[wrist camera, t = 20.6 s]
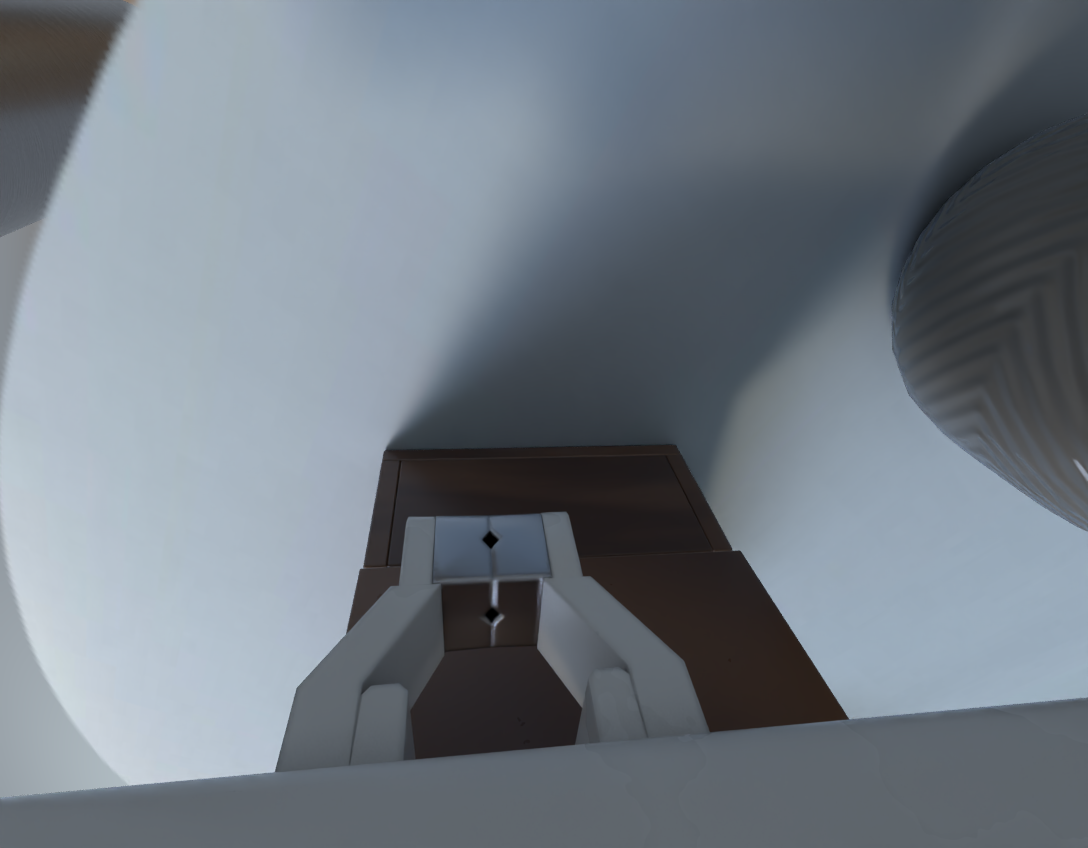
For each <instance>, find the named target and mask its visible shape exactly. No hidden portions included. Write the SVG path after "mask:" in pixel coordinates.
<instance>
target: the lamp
mask: <svg viewBox="0 0 1088 848" xmlns="http://www.w3.org/2000/svg"><path fill="white" fill-rule="evenodd" d="M892 349H893V352H894V355H895V358H896V361H897V364H898V367H899V370H900V373H901V376H902V378H903V381H904V383H905V386H906V389H907V391H908V394H909V396H910V397H911V398H912V399H913V400H914V402H915V403H916V404H917V405H918V406H919V408H920V409H921V410H922V411H923V412H924V413H925V414H926V416H927V417H928V418H929V419H930V420H931V421H932V422H933V423H934V424H935V425H936V426H937V427H938V428H939V429H940V431H941V432H942V433H943V434H945V435H946V436H947V437H948V438H949V439H951V440H952V441H953V442H954V443H956V444H957V445H958V446H959V447H961V448H962V449H963V450H964V451H966V452H967V453H968V454H970V455H971V456H972V457H974V458H975V459H976V460H978V461H979V462H980V463H982V464H983V465H985V466H986V467H987V468H989V469H990V470H991V471H993V472H994V473H996V474H997V475H998V476H1000V477H1001V478H1002V479H1004V480H1005V481H1007V482H1008V483H1009V484H1011V485H1012V486H1014V487H1015V488H1017V489H1018V490H1019V491H1021V492H1022V493H1024V494H1025V495H1027V496H1028V497H1030V498H1031V499H1033V500H1034V501H1035V502H1037V503H1038V504H1040V505H1041V506H1043V507H1044V508H1046V509H1048V510H1049V511H1051V512H1053V513H1054V514H1056V515H1058V516H1060V517H1061V518H1063V519H1065V520H1066V521H1068V522H1070V523H1071V524H1073V525H1075V526H1077V527H1079V528H1081V529H1083V530H1086V531H1088V113H1086V114H1084V115H1081V116H1079V117H1076V118H1074V119H1071V120H1069V121H1066V122H1064V123H1061V124H1058V125H1056V126H1053V127H1051V128H1048V129H1046V130H1044V131H1042V132H1040V133H1039V134H1037V135H1035V136H1033V137H1031V138H1029V139H1028V140H1026V141H1024V142H1022V143H1021V144H1019V145H1017V146H1016V147H1014V148H1013V149H1011V150H1010V151H1008V152H1007V153H1005V154H1003V155H1002V156H1000V157H999V158H997V159H996V160H994V161H993V162H991V163H989V164H988V165H986V166H985V167H983V168H982V169H981V170H980V171H979V172H978V173H977V174H976V175H974V176H973V177H972V178H971V179H970V180H969V181H968V182H967V183H966V184H965V185H963V186H962V187H961V188H960V189H959V190H958V191H957V192H956V193H955V194H954V195H953V196H951V197H950V198H949V199H948V200H947V201H946V202H945V203H944V205H943V206H942V207H941V209H940V210H939V211H938V212H937V214H936V215H935V216H934V218H933V219H932V220H931V221H930V223H929V224H928V225H927V227H926V228H925V229H924V230H923V232H922V233H921V234H920V236H919V238H918V240H917V242H916V244H915V246H914V248H913V250H912V251H911V253H910V255H909V257H908V259H907V261H906V263H905V265H904V267H903V269H902V271H901V275H900V278H899V282H898V285H897V289H896V292H895V296H894V299H893V303H892Z"/></svg>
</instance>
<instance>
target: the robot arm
mask: <svg viewBox="0 0 1088 848" xmlns="http://www.w3.org/2000/svg"><path fill="white" fill-rule="evenodd" d="M523 646H537V649H538V650H539V651H540V653H541V654H542V655H543V657H544V658H545V659H546V661H547V662H548V663H549V665H550V666H551V667H552V669H553V670H554V671H555V673H556V674H557V675H558V677H559V678H560V679H561V681H562V682H563V683H564V685H565V686H566V687H567V689H568V690H569V691H570V693H571V694H572V695H573V697H574V698H575V699H576V701H577V702H578V703H579V705H580V706H581V707H582V712H581V717H580V722H579V727H578V732H577V738H576V743H575V745H567V746H556V747H546V748H535V749H524V750H513V751H502V752H491V753H480V754H470V755H459V756H448V757H437V758H426V759H415V750H414V741H413V732H412V723H411V714H410V710H411V708H412V707H413V705H414V704H415V702H416V700H417V699H418V697H419V695H420V694H421V692H422V691H423V689H424V687H425V686H426V684H427V682H428V681H429V679H430V678H431V676H432V674H433V673H434V671H435V670H436V668H437V666H438V665H439V663H440V661H441V660H442V658H443V657H444V652H451V651H462V650H472V649H483V648H498V647H523ZM0 848H1088V698H1077V699H1067V700H1056V701H1045V702H1034V703H1023V704H1013V705H1002V706H991V707H980V708H969V709H958V710H947V711H936V712H925V713H915V714H904V715H893V716H882V717H871V718H860V719H849V720H838V721H827V722H817V723H806V724H795V725H784V726H773V727H762V728H751V729H740V730H729V731H719V732H710V731H709V728H708V726H707V723H706V720H705V717H704V714H703V712H702V709H701V706H700V703H699V701H698V698H697V695H696V692H695V690H694V687H693V684H692V681H691V679H690V676H689V673H688V670H687V667H686V665H685V662H684V660H683V659H681V658H680V657H679V656H678V655H677V654H676V653H675V652H674V651H673V650H672V649H670V648H669V647H668V646H667V645H666V644H665V643H664V642H663V641H662V640H661V639H659V638H658V637H657V636H656V635H655V634H654V633H653V632H652V631H651V630H649V629H648V628H647V627H646V626H645V625H644V624H643V623H642V622H641V621H640V620H638V619H637V618H636V617H635V616H634V615H633V614H632V613H631V612H630V611H629V610H627V609H626V608H625V607H624V606H623V605H622V604H621V603H620V602H619V601H617V600H616V599H615V598H614V597H613V596H612V595H611V594H610V593H609V592H608V591H606V590H605V589H604V588H603V587H602V586H601V585H600V584H599V583H598V582H597V581H595V580H594V579H593V578H592V577H591V576H583V574H582V570H581V566H580V561H579V557H578V553H577V549H576V544H575V540H574V536H573V532H572V527H571V523H570V519H569V515H568V514H567V513H566V512H548V513H540V514H539V513H531V514H507V515H486V516H436V517H408V519H407V522H406V528H405V537H404V545H403V554H402V563H401V571H400V580H399V586H390V587H389V588H388V589H387V591H386V592H385V593H384V594H383V595H382V596H381V597H380V598H379V599H378V600H377V601H376V602H375V604H374V605H373V606H372V607H371V608H370V609H369V610H368V611H367V612H366V613H365V614H364V616H363V617H362V618H361V619H360V620H359V621H358V622H357V623H356V624H355V625H354V626H353V627H352V629H351V630H350V631H349V632H348V633H347V634H346V635H345V636H344V637H343V638H342V639H341V641H340V642H339V643H338V644H337V645H336V646H335V647H334V648H333V649H332V650H331V651H330V652H329V654H328V655H327V656H326V657H325V658H324V659H323V660H322V661H321V662H320V663H319V664H318V666H317V667H316V668H315V669H314V670H313V671H312V672H311V673H310V674H309V675H308V676H307V677H306V679H305V680H304V681H303V682H302V683H301V684H300V685H299V686H298V687H297V689H296V693H295V697H294V701H293V704H292V708H291V712H290V716H289V720H288V724H287V727H286V731H285V735H284V739H283V743H282V747H281V750H280V754H279V758H278V762H277V766H276V770H275V772H274V773H263V774H252V775H241V776H230V777H219V778H208V779H197V780H187V781H176V782H165V783H154V784H143V785H132V786H121V787H111V788H99V789H89V790H77V791H67V792H56V793H46V794H34V795H23V796H12V797H1V798H0Z"/></svg>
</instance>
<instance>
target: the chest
mask: <svg viewBox="0 0 1088 848" xmlns="http://www.w3.org/2000/svg"><path fill="white" fill-rule="evenodd" d="M548 512H566V513H567V514H568V515H569V519H570V523H571V527H572V532H573V536H574V540H575V544H576V549H577V553H578V557H579V558H596V557H616V556H637V555H658V554H679V553H700V552H720V551H732V547H731V545H730V543H729V542H728V540H727V538H726V536H725V534H724V532H723V531H722V529H721V527H720V525H719V523H718V521H717V519H716V518H715V516H714V514H713V512H712V510H711V508H710V507H709V505H708V503H707V501H706V499H705V497H704V495H703V494H702V492H701V490H700V488H699V486H698V484H697V483H696V481H695V479H694V477H693V475H692V473H691V471H690V470H689V468H688V466H687V464H686V462H685V460H684V459H683V457H682V455H681V454H680V452H679V450H678V448H677V446H676V445H645V446H592V447H539V448H486V449H433V450H386V451H384V454H383V459H382V464H381V470H380V476H379V481H378V487H377V492H376V498H375V504H374V509H373V515H372V521H371V526H370V532H369V537H368V543H367V549H366V554H365V560H364V565H363V568H364V569H367V568H388V567H401V563H402V554H403V545H404V537H405V528H406V522H407V519H408V517H436V516H486V515H507V514H531V513H539V514H540V513H548Z"/></svg>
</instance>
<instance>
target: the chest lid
mask: <svg viewBox="0 0 1088 848" xmlns="http://www.w3.org/2000/svg"><path fill="white" fill-rule="evenodd" d="M579 561H580V566H581V570H582V574H583V576H591V577H592V578H593V579H594V580H595V581H597V582H598V583H599V584H600V585H601V586H602V587H603V588H604V589H605V590H606V591H608V592H609V593H610V594H611V595H612V596H613V597H614V598H615V599H616V600H617V601H619V602H620V603H621V604H622V605H623V606H624V607H625V608H626V609H627V610H629V611H630V612H631V613H632V614H633V615H634V616H635V617H636V618H637V619H638V620H640V621H641V622H642V623H643V624H644V625H645V626H646V627H647V628H648V629H649V630H651V631H652V632H653V633H654V634H655V635H656V636H657V637H658V638H659V639H661V640H662V641H663V642H664V643H665V644H666V645H667V646H668V647H669V648H670V649H672V650H673V651H674V652H675V653H676V654H677V655H678V656H679V657H680V658H681V659H683V660H684V662H685V665H686V667H687V670H688V673H689V676H690V679H691V681H692V684H693V687H694V690H695V692H696V695H697V698H698V701H699V703H700V706H701V709H702V712H703V714H704V717H705V720H706V723H707V726H708V728H709V731H710V732H719V731H729V730H740V729H751V728H762V727H773V726H784V725H795V724H806V723H817V722H827V721H838V720H849V718H848V717H847V715H846V713H845V712H844V710H843V709H842V707H841V706H840V704H839V703H838V701H837V699H836V698H835V696H834V695H833V693H832V692H831V690H830V689H829V687H828V686H827V684H826V682H825V681H824V679H823V678H822V676H821V675H820V673H819V672H818V670H817V668H816V667H815V665H814V664H813V662H812V661H811V659H810V658H809V656H808V655H807V653H806V651H805V650H804V648H803V647H802V645H801V644H800V642H799V641H798V639H797V637H796V636H795V634H794V633H793V631H792V630H791V628H790V627H789V625H788V624H787V622H786V620H785V619H784V617H783V616H782V614H781V613H780V611H779V610H778V608H777V606H776V605H775V603H774V602H773V600H772V599H771V597H770V596H769V594H768V593H767V591H766V589H765V588H764V586H763V585H762V583H761V582H760V580H759V579H758V577H757V575H756V574H755V572H754V571H753V569H752V568H751V566H750V565H749V563H748V561H747V560H746V558H745V557H744V555H743V554H742V552H741V551H720V552H700V553H679V554H658V555H637V556H616V557H596V558H579ZM400 571H401V567H388V568H367V569H360V571H359V576H358V581H357V585H356V590H355V595H354V599H353V604H352V609H351V613H350V618H349V623H348V627H347V632H346V634H347V633H348V632H349V631H350V630H351V629H352V627H353V626H354V625H355V624H356V623H357V622H358V621H359V620H360V619H361V618H362V617H363V616H364V614H365V613H366V612H367V611H368V610H369V609H370V608H371V607H372V606H373V605H374V604H375V602H376V601H377V600H378V599H379V598H380V597H381V596H382V595H383V594H384V593H385V592H386V591H387V589H388V588H389V587H390V586H399V580H400ZM581 712H582V707H581V706H580V705H579V703H578V702H577V701H576V699H575V698H574V697H573V695H572V694H571V693H570V691H569V690H568V689H567V687H566V686H565V685H564V683H563V682H562V681H561V679H560V678H559V677H558V675H557V674H556V673H555V671H554V670H553V669H552V667H551V666H550V665H549V663H548V662H547V661H546V659H545V658H544V657H543V655H542V654H541V653H540V651H539V650H538V649H537V646H523V647H498V648H483V649H472V650H462V651H451V652H444V657H443V658H442V660H441V661H440V663H439V665H438V666H437V668H436V670H435V671H434V673H433V674H432V676H431V678H430V679H429V681H428V682H427V684H426V686H425V687H424V689H423V691H422V692H421V694H420V695H419V697H418V699H417V700H416V702H415V704H414V705H413V707H412V708H411V710H410V714H411V723H412V732H413V741H414V750H415V759H426V758H437V757H448V756H459V755H470V754H480V753H491V752H502V751H513V750H524V749H535V748H546V747H556V746H567V745H575V743H576V738H577V732H578V727H579V722H580V717H581Z"/></svg>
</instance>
